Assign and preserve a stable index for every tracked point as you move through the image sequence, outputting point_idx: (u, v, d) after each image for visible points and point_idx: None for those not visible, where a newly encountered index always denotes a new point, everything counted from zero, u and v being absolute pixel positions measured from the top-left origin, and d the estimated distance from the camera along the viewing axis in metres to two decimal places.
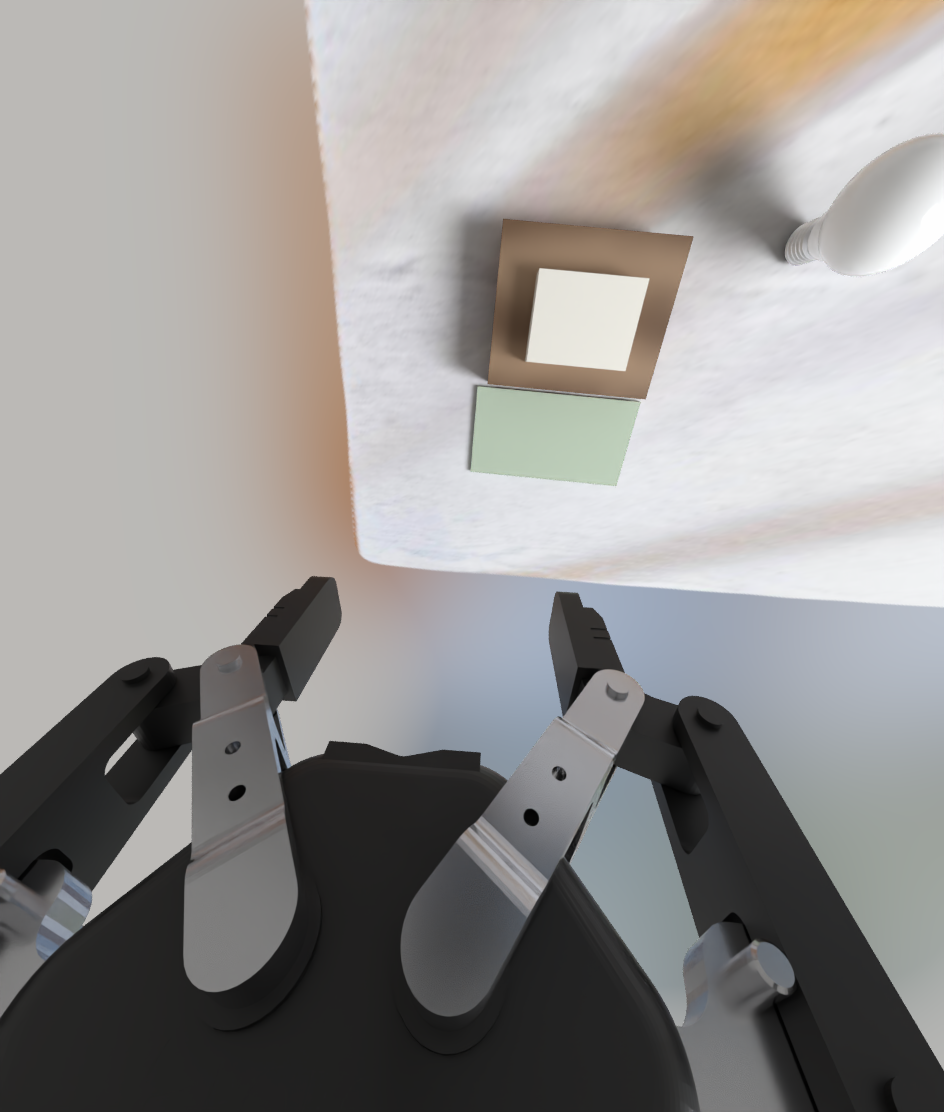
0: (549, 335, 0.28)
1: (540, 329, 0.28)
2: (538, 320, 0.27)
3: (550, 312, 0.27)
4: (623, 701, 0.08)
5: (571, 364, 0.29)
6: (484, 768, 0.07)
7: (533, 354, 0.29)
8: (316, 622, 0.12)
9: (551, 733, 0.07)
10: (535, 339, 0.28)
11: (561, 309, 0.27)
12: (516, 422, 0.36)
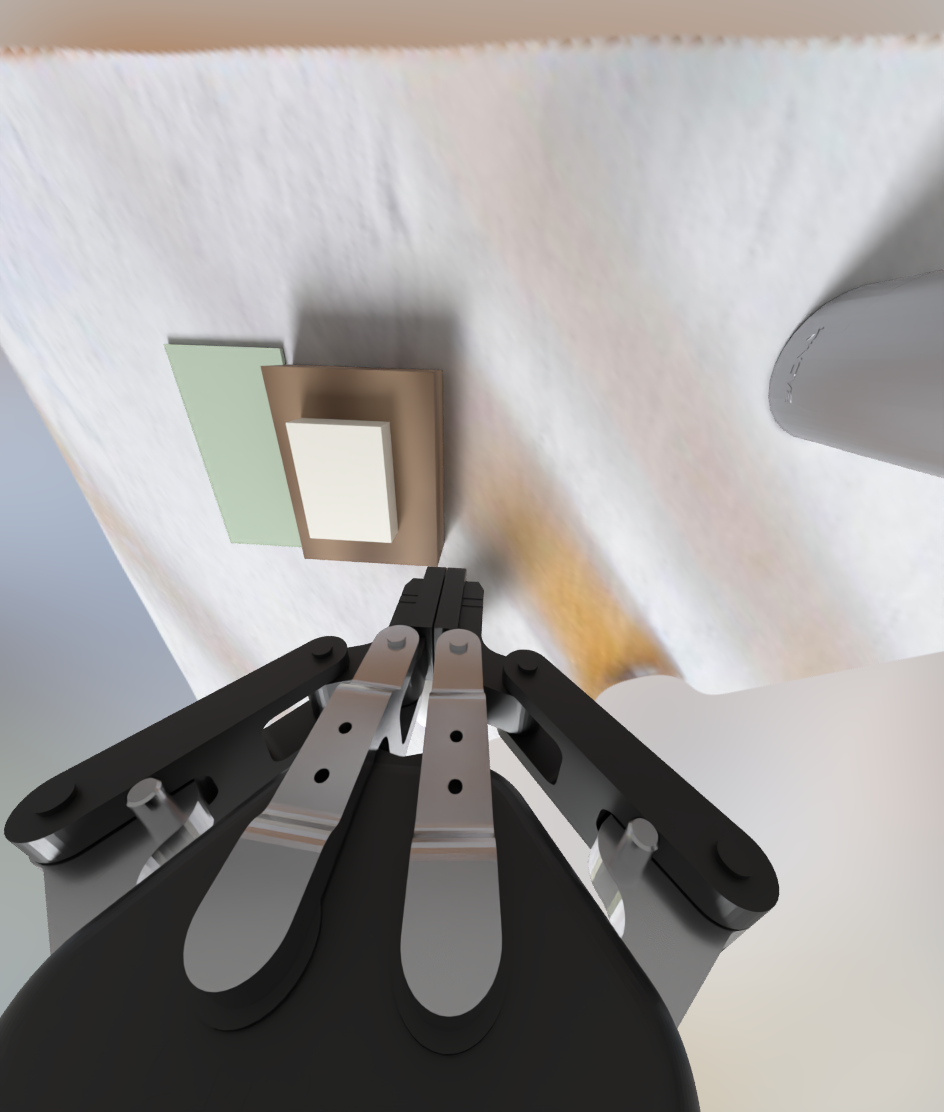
0: (320, 448, 0.23)
1: (323, 436, 0.22)
2: (331, 432, 0.22)
3: (342, 446, 0.23)
4: (458, 653, 0.09)
5: (299, 479, 0.24)
6: None
7: (295, 431, 0.22)
8: None
9: (433, 709, 0.07)
10: (311, 431, 0.22)
11: (348, 459, 0.23)
12: (254, 411, 0.27)
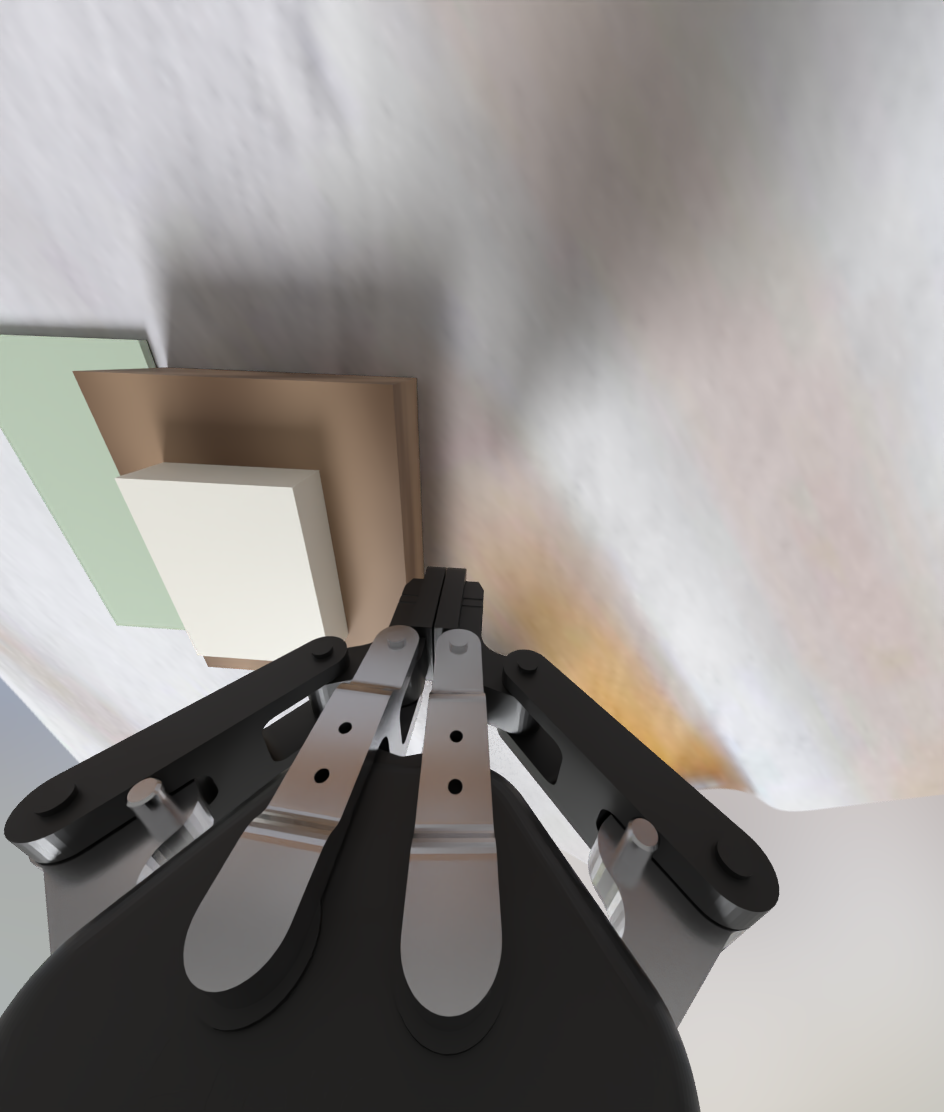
0: (187, 522, 0.12)
1: (188, 502, 0.12)
2: (202, 496, 0.12)
3: (226, 519, 0.12)
4: (458, 653, 0.09)
5: (161, 571, 0.14)
6: None
7: (136, 492, 0.12)
8: None
9: (433, 709, 0.07)
10: (165, 493, 0.12)
11: (240, 540, 0.13)
12: None
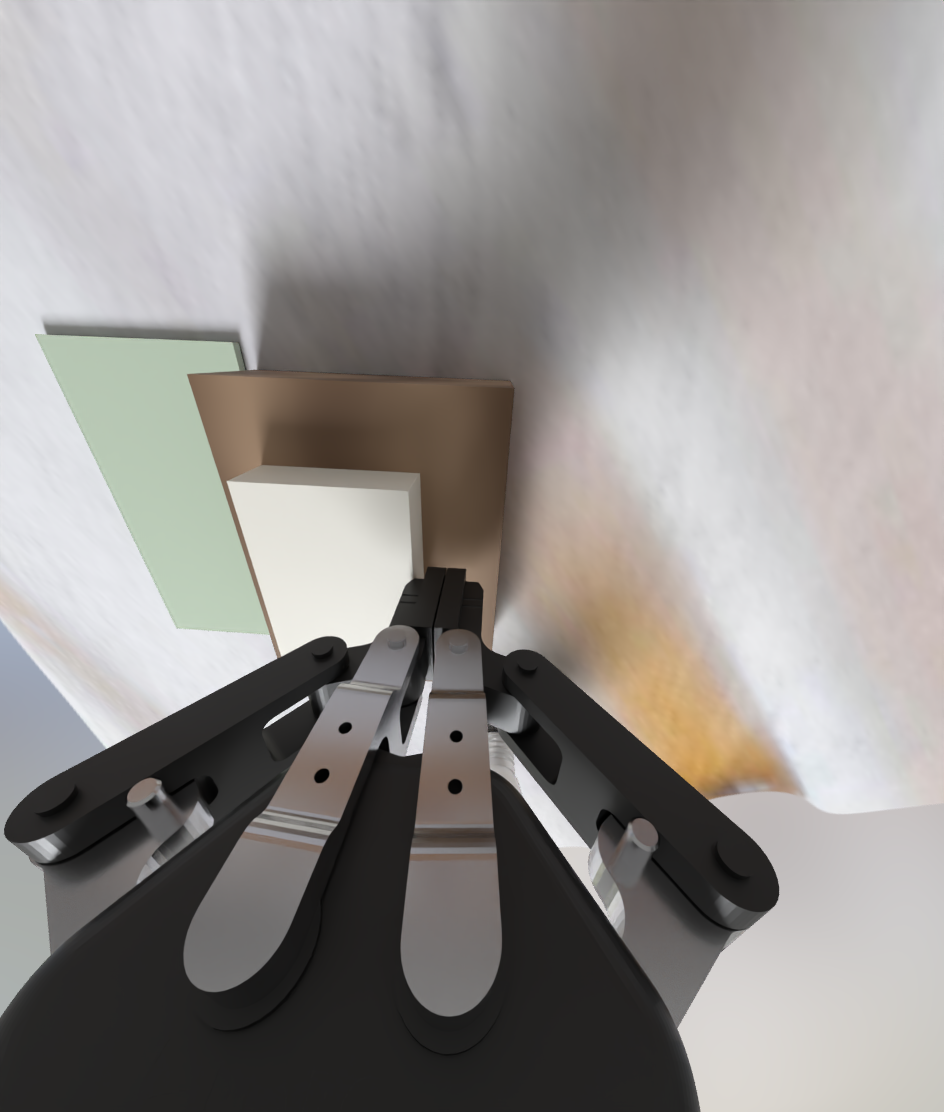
0: (294, 526, 0.12)
1: (299, 505, 0.12)
2: (314, 499, 0.12)
3: (335, 523, 0.12)
4: (458, 653, 0.09)
5: (258, 574, 0.13)
6: None
7: (246, 495, 0.12)
8: None
9: (433, 709, 0.07)
10: (276, 497, 0.12)
11: (345, 544, 0.13)
12: (197, 444, 0.17)
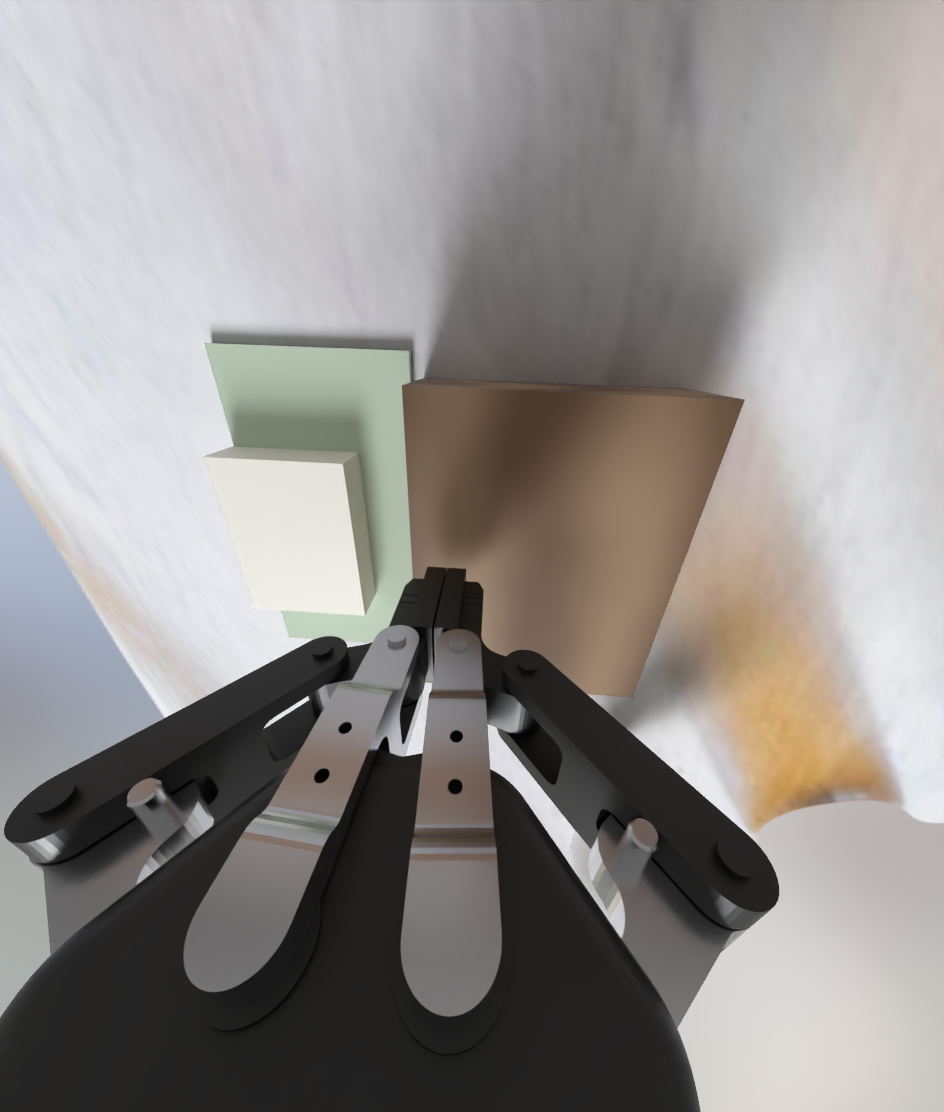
0: None
1: None
2: None
3: None
4: (458, 653, 0.09)
5: (365, 523, 0.18)
6: None
7: None
8: None
9: (433, 709, 0.07)
10: None
11: None
12: None
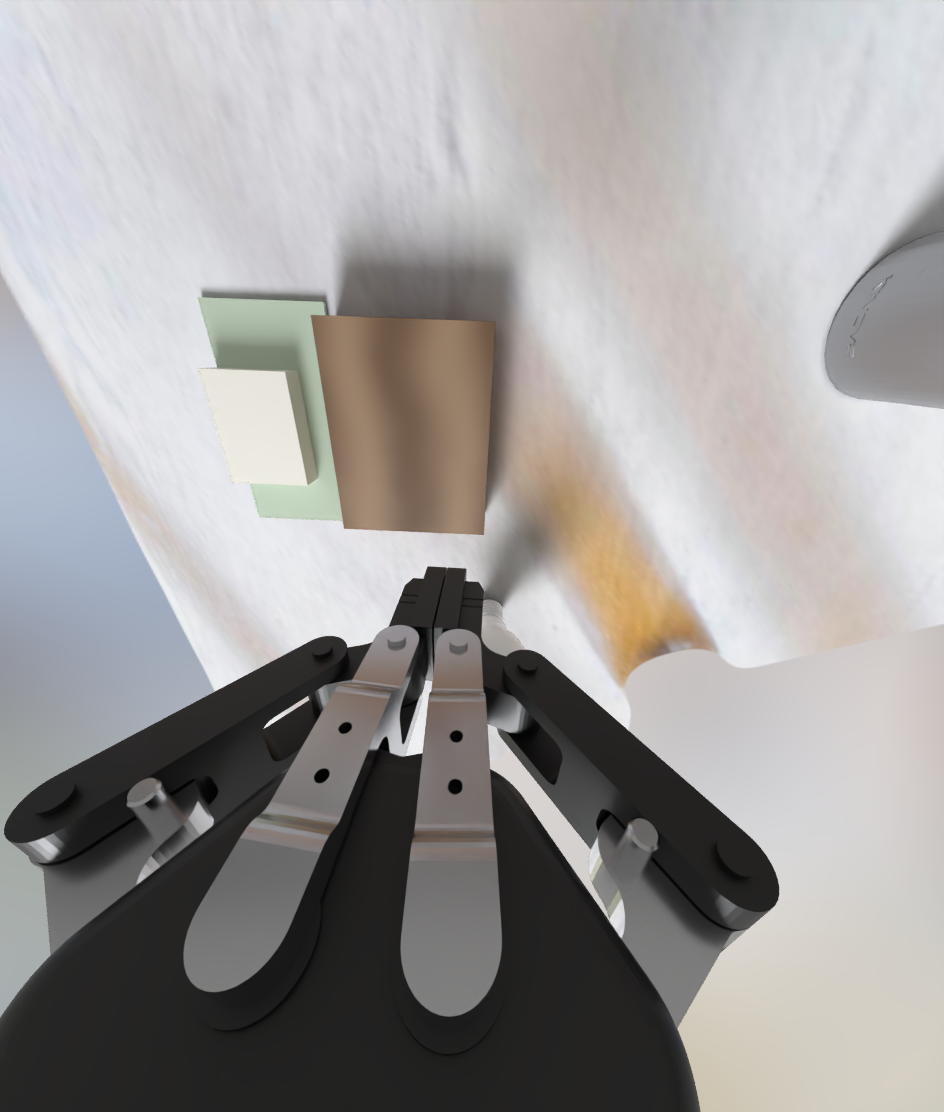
0: None
1: None
2: None
3: None
4: (458, 653, 0.09)
5: (306, 423, 0.28)
6: None
7: None
8: None
9: (433, 709, 0.07)
10: None
11: None
12: None
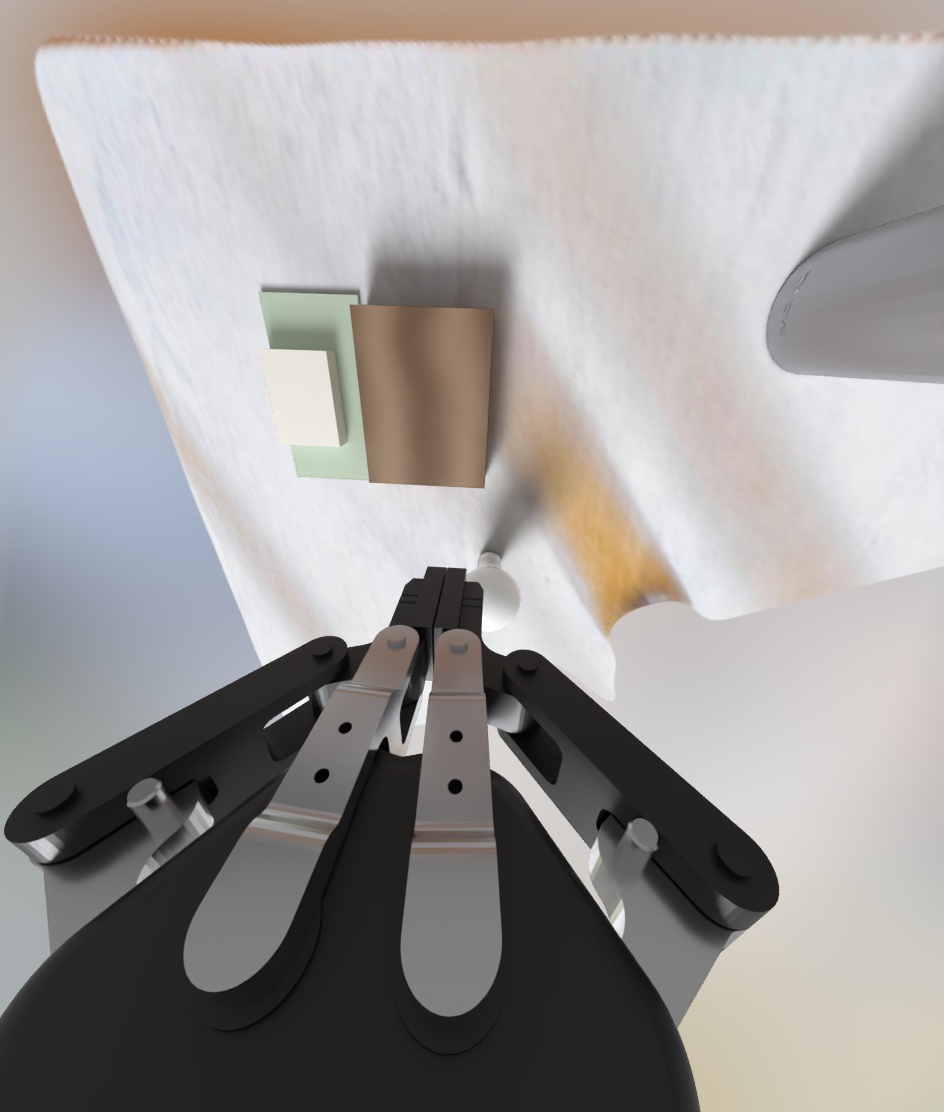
0: None
1: None
2: None
3: None
4: (458, 653, 0.09)
5: (339, 395, 0.34)
6: None
7: None
8: None
9: (433, 709, 0.07)
10: None
11: None
12: None
